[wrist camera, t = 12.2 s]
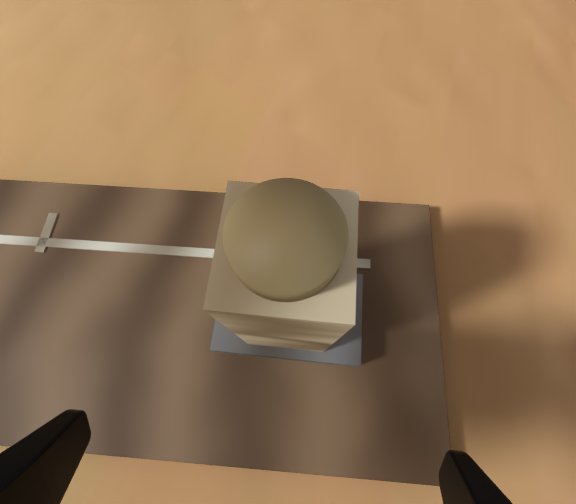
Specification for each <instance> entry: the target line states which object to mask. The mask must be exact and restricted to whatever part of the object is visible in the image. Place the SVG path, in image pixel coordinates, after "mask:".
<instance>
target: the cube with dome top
mask: <svg viewBox="0 0 576 504" xmlns="http://www.w3.org/2000/svg"><path fill="white" fill-rule="evenodd" d="M358 207H359V191H352V190H340V189H327V188H321V187H319V186H317V185H315V184H313V183H310V182H308V181H304V180H300V179H294V178H279V179H272V180H268V181H265V182H262V183H253V182H240V181H228V183H227V188H226V194H225V199H224V204H223V209H222V214H221V219H220V224H219V230H218V235H217V240H216V245H215V250H214V255H213V260H212V266H211V271H210V276H209V281H208V286H207V291H206V296H205V301H204V307H203V310H204V311H205V312H207V313H208V314H209V315H210V316H212V317H213V318H214V319H215V323H214V329H213V334H212V340H211V345H210V350H211V351H214V352H219V353H229V354H238V355H248V356H257V357H267V358H276V359H286V360H295V361H305V362H314V363H323V364H333V365H342V366H352V367H358V366H361V341H362V292H363V274H357V244H358Z"/></svg>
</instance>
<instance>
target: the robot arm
mask: <svg viewBox="0 0 576 504" xmlns="http://www.w3.org/2000/svg"><path fill="white" fill-rule="evenodd" d="M90 438H91V429H90V425H89V422H88V418H87V414H86V412H85V411H83V410H76V409H68V410H66V411H64V412H62V413H60V414H59V415H57V416H56V417H54V418H53V419H51V420H50V421H48V422H47V423H45V424H44V425H42V426H41V427H39V428H38V429H36V430H35V431H33V432H32V433H30V434H29V435H27V436H26V437H24V438H23V439H21V440H20V441H18V442H17V443H15V444H14V445H12V446H11V447H9V448H8V449H6V450H5V451H3V452H2V453H0V504H60V503H61V501H62V499H63V496H64V494H65V492H66V490H67V488H68V486H69V484H70V482H71V480H72V478H73V475H74V473H75V471H76V469H77V467H78V465H79V463H80V461H81V459H82V457H83V454H84V452H85V450H86V448H87V446H88V444H89V442H90ZM438 478H439V485H440V490H441V494H442V499H443V504H512V503H511V501H510V500H509V499H508V498H507V497H506V496H505V495H504V494H503V493H502V491H501V490H500V489H499V488H498V487H497V486H496V485H495V484H494V483H493V481H492V480H491V479H490V478H489V477H488V476H487V475H486V474H485V473H484V471H483V470H482V469H481V468H480V467H479V466H478V465H477V464H476V462H475V461H474V460H473V459H472V458H471V457H470V456H469V455H468V454H467V453H465V452H463V451H455V450H448V451H447V452H446V454H445V456H444V459H443V462H442V464H441V467H440V469H439V477H438Z"/></svg>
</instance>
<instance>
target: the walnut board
mask: <svg viewBox="0 0 576 504" xmlns="http://www.w3.org/2000/svg"><path fill="white" fill-rule="evenodd" d="M225 194H226V193H217V192H200V191H183V190H167V189H150V188H133V187H116V186H99V185H83V184H66V183H49V182H32V181H15V180H0V446H12V445H14V444H15V443H17V442H18V441H20V440H21V439H23V438H24V437H26V436H27V435H29V434H30V433H32V432H33V431H35V430H36V429H38V428H39V427H41V426H42V425H44V424H45V423H47V422H48V421H50V420H51V419H53V418H54V417H56V416H57V415H59V414H60V413H62V412H64V411H66V410H68V409H76V410H83V411H85V412H86V414H87V418H88V422H89V425H90V429H91V438H90V442H89V444H88V446H87V448H86V450H85V452H84V453H87V454H98V455H109V456H119V457H130V458H141V459H152V460H163V461H174V462H184V463H195V464H206V465H217V466H228V467H239V468H249V469H260V470H271V471H282V472H293V473H304V474H314V475H325V476H336V477H347V478H358V479H369V480H379V481H390V482H401V483H412V484H423V485H434V486H440V485H439V478H438V477H439V469H440V467H441V464H442V462H443V459H444V456H445V454H446V452H447V451H448V450H451V448H450V437H449V426H448V414H447V403H446V392H445V380H444V369H443V358H442V346H441V335H440V324H439V312H438V301H437V290H436V278H435V267H434V256H433V245H432V233H431V222H430V211H429V205H419V204H402V203H385V202H368V201H359V207H358V244H357V274H363V292H362V341H361V366H358V367H352V366H342V365H333V364H323V363H314V362H305V361H295V360H286V359H276V358H267V357H257V356H248V355H238V354H229V353H219V352H214V351H211V350H210V345H211V340H212V334H213V329H214V323H215V319H214V318H213V317H212V316H210V315H209V314H208V313H207V312H205V311H204V310H203V307H204V301H205V296H206V291H207V286H208V281H209V276H210V271H211V266H212V260H213V255H214V250H215V245H216V240H217V235H218V230H219V224H220V219H221V214H222V209H223V204H224V199H225Z"/></svg>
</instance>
